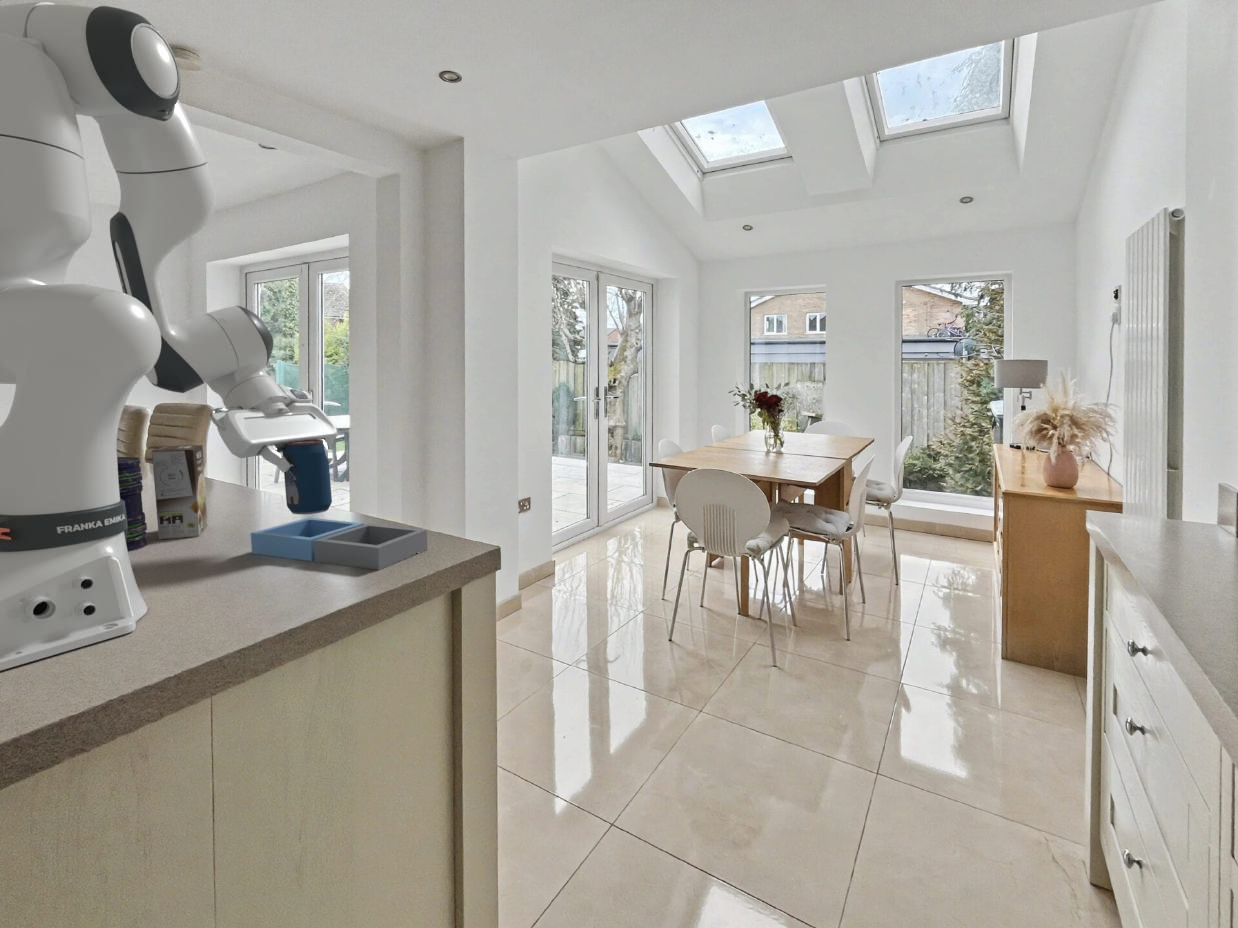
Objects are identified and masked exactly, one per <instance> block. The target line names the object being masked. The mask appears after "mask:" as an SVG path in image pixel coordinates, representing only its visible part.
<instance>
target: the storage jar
mask: <svg viewBox="0 0 1238 928" xmlns="http://www.w3.org/2000/svg"><path fill="white" fill-rule="evenodd" d="M117 464H118V480H119V492H120V499H122V500H123V501H125V508H126V515H127V525H128V532H127V540H126V545H127V550H128V553H130V552H133V551H137V550H140V549H143V548H144V547H146V546H148V540H147V535H148V533H147V530H148V525H147V522H146V514H145V512H144V511H143V509H144V507H143V498H142V497H143V496H142V491H143V490H144V489H143V488H144V485H143V482H142V481H143V473H141V472H142V469H141V466H140V464H141V459H140V457H132V456H131V457H130V456H129V457H128V456H117Z"/></svg>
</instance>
